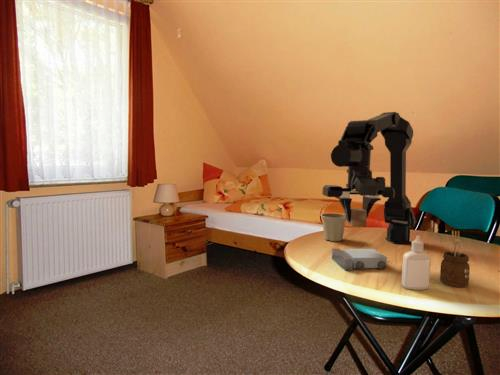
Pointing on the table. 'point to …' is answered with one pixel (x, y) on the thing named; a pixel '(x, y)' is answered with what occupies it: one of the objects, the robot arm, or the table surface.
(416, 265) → the eye dropper bottle
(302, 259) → the table surface
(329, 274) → the table surface
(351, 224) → the block
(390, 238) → the robot arm
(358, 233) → the table surface
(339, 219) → the flower pot
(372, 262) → the cart
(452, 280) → the utensil holder
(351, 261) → the buffer
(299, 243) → the table surface
